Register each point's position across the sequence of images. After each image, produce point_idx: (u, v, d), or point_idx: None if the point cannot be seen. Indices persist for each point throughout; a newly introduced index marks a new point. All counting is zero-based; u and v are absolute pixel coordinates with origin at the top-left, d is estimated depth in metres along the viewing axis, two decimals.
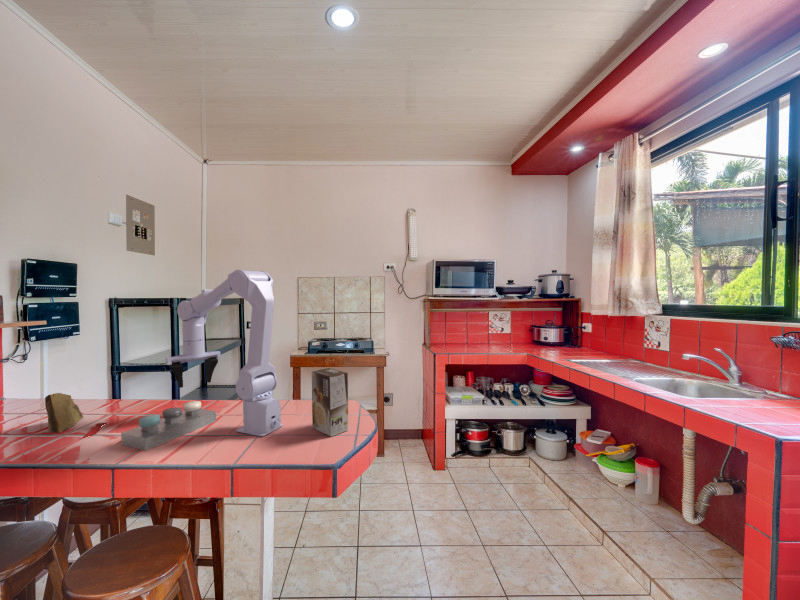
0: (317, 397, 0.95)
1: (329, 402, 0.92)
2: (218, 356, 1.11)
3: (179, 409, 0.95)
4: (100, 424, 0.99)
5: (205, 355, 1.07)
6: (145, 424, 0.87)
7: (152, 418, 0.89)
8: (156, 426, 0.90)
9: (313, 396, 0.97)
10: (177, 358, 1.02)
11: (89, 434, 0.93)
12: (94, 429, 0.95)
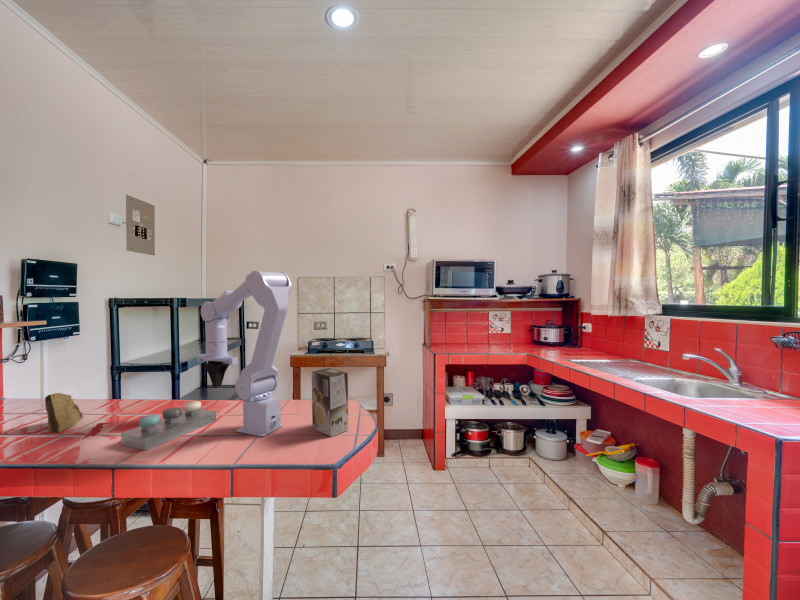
0: (317, 397, 0.95)
1: (329, 402, 0.92)
2: (230, 363, 1.02)
3: (179, 409, 0.95)
4: (101, 424, 0.99)
5: (216, 359, 1.03)
6: (145, 424, 0.87)
7: (152, 418, 0.89)
8: (156, 426, 0.90)
9: (313, 396, 0.97)
10: (201, 356, 1.06)
11: (91, 434, 0.93)
12: (95, 429, 0.95)
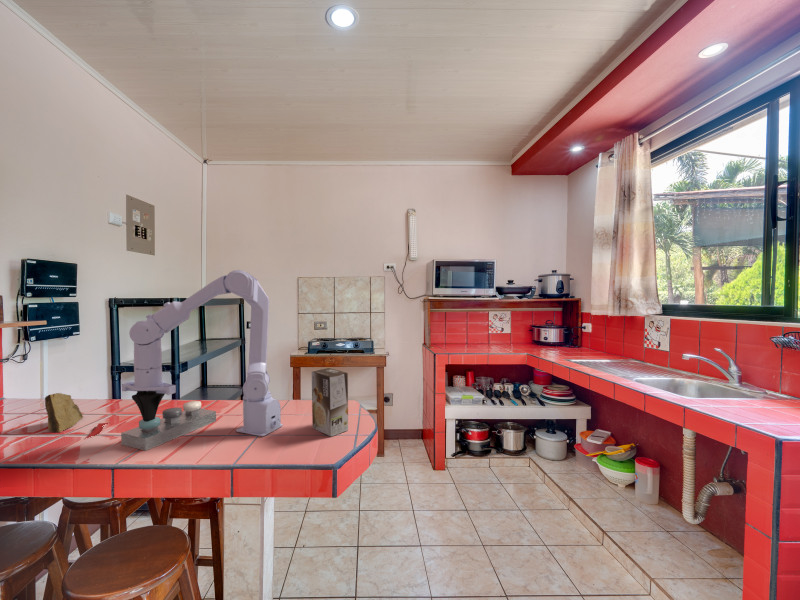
0: (317, 397, 0.95)
1: (329, 402, 0.92)
2: (166, 392, 0.87)
3: (179, 409, 0.95)
4: (102, 424, 0.99)
5: (148, 389, 0.86)
6: (145, 426, 0.87)
7: (152, 420, 0.89)
8: (156, 428, 0.90)
9: (313, 396, 0.97)
10: (127, 386, 0.88)
11: (93, 434, 0.93)
12: (97, 429, 0.95)
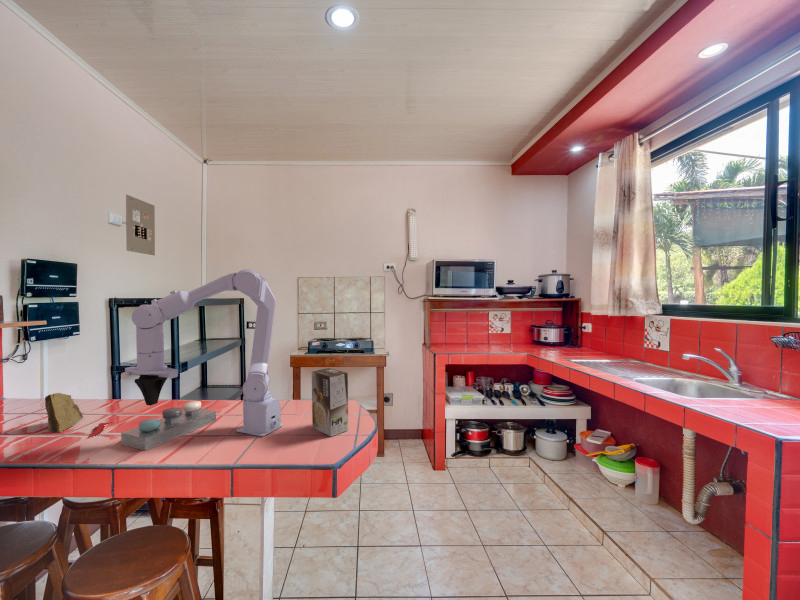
0: (317, 397, 0.95)
1: (329, 402, 0.92)
2: (168, 376, 0.87)
3: (179, 409, 0.95)
4: (102, 424, 0.99)
5: (150, 372, 0.87)
6: (145, 428, 0.87)
7: (152, 422, 0.89)
8: None
9: (313, 396, 0.97)
10: (130, 370, 0.89)
11: (95, 433, 0.93)
12: (98, 429, 0.95)
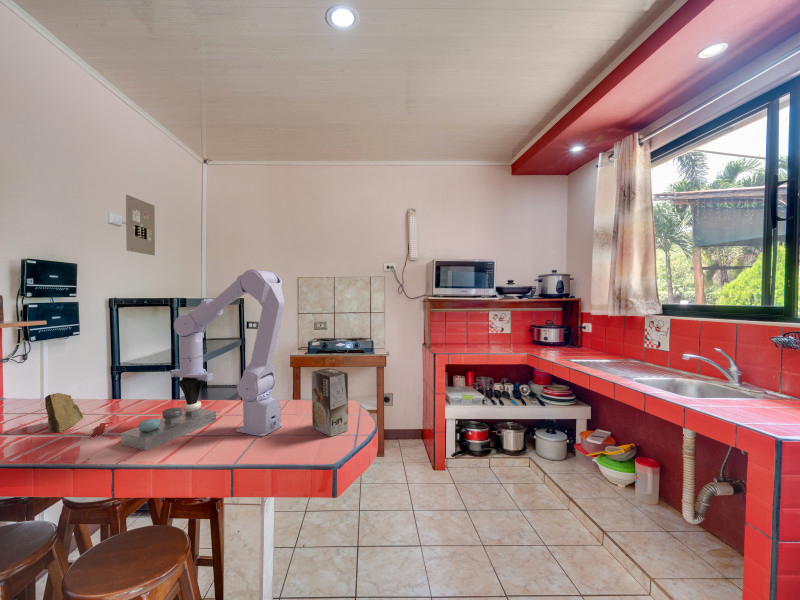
0: (317, 397, 0.95)
1: (329, 402, 0.92)
2: (205, 379, 0.97)
3: (179, 409, 0.95)
4: (103, 424, 0.99)
5: (190, 375, 0.97)
6: (145, 428, 0.87)
7: (152, 422, 0.89)
8: None
9: (313, 396, 0.97)
10: (174, 372, 1.00)
11: (96, 433, 0.93)
12: (100, 428, 0.95)
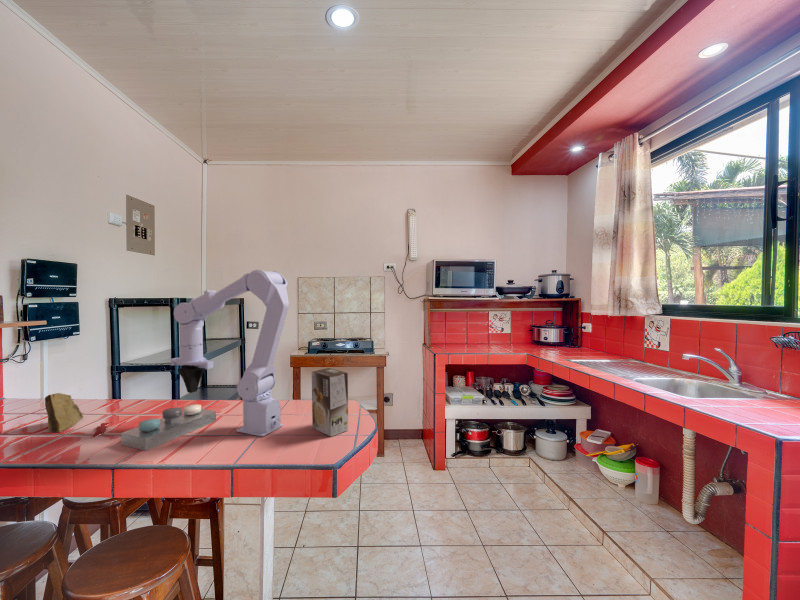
0: (317, 397, 0.95)
1: (329, 402, 0.92)
2: (205, 367, 0.97)
3: (179, 409, 0.95)
4: (104, 424, 0.99)
5: (190, 363, 0.97)
6: (145, 428, 0.87)
7: (152, 422, 0.89)
8: None
9: (313, 396, 0.97)
10: (175, 360, 1.00)
11: (98, 433, 0.93)
12: (101, 428, 0.95)
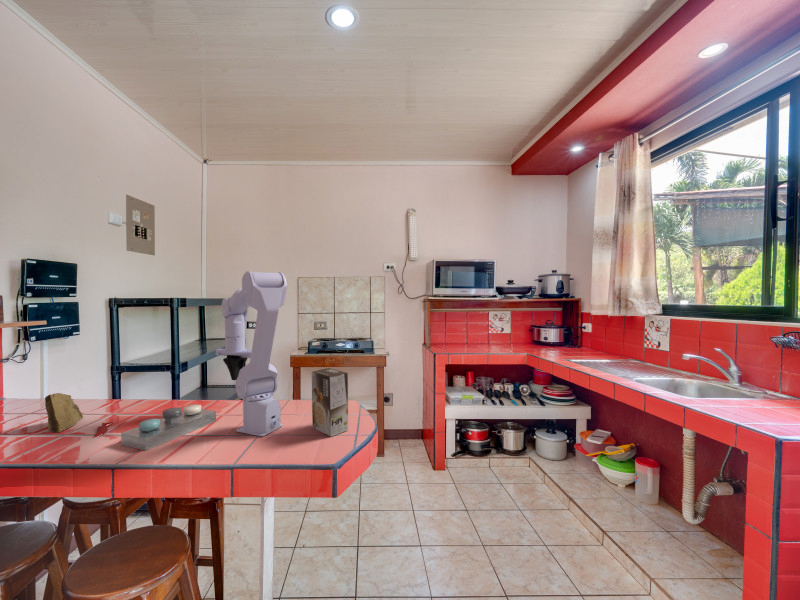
0: (317, 397, 0.95)
1: (329, 402, 0.92)
2: (249, 357, 1.06)
3: (179, 409, 0.95)
4: (105, 424, 0.99)
5: (235, 353, 1.07)
6: (145, 428, 0.87)
7: (152, 422, 0.89)
8: None
9: (313, 396, 0.97)
10: (220, 351, 1.10)
11: (100, 433, 0.93)
12: (103, 428, 0.96)
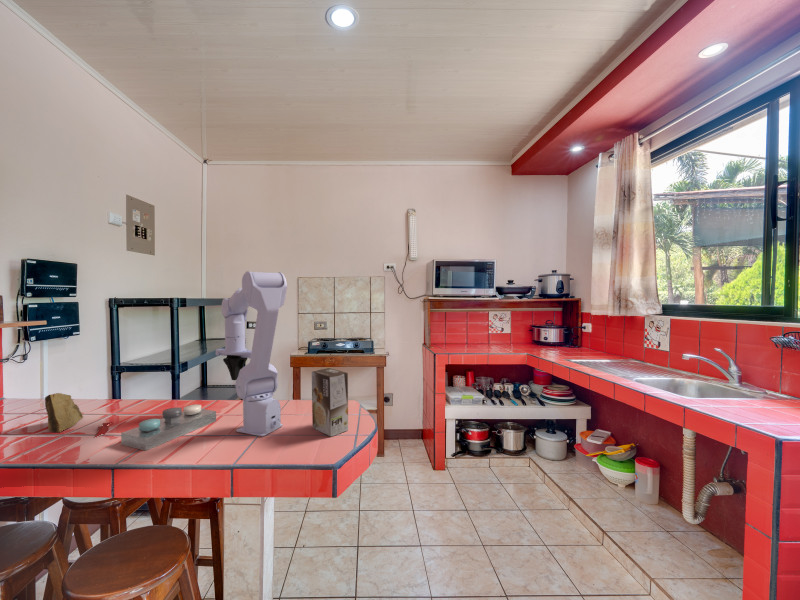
0: (317, 397, 0.95)
1: (329, 402, 0.92)
2: (249, 357, 1.06)
3: (179, 409, 0.95)
4: (105, 424, 0.99)
5: (235, 353, 1.07)
6: (145, 428, 0.87)
7: (152, 422, 0.89)
8: None
9: (313, 396, 0.97)
10: (220, 351, 1.10)
11: (101, 432, 0.93)
12: (104, 428, 0.96)
